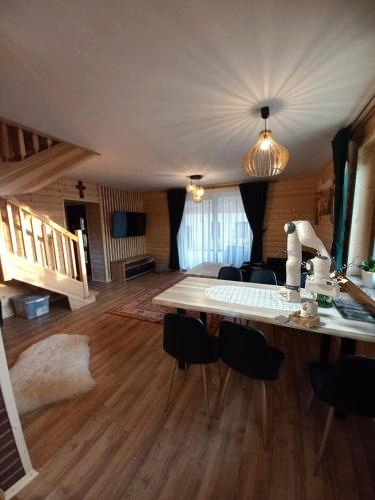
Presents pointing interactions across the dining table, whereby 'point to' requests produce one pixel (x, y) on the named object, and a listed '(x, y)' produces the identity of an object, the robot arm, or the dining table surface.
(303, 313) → the plug
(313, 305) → the cup
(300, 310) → the clip
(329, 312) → the dining table surface
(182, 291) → the dining table surface
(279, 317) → the mat
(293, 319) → the socket block
